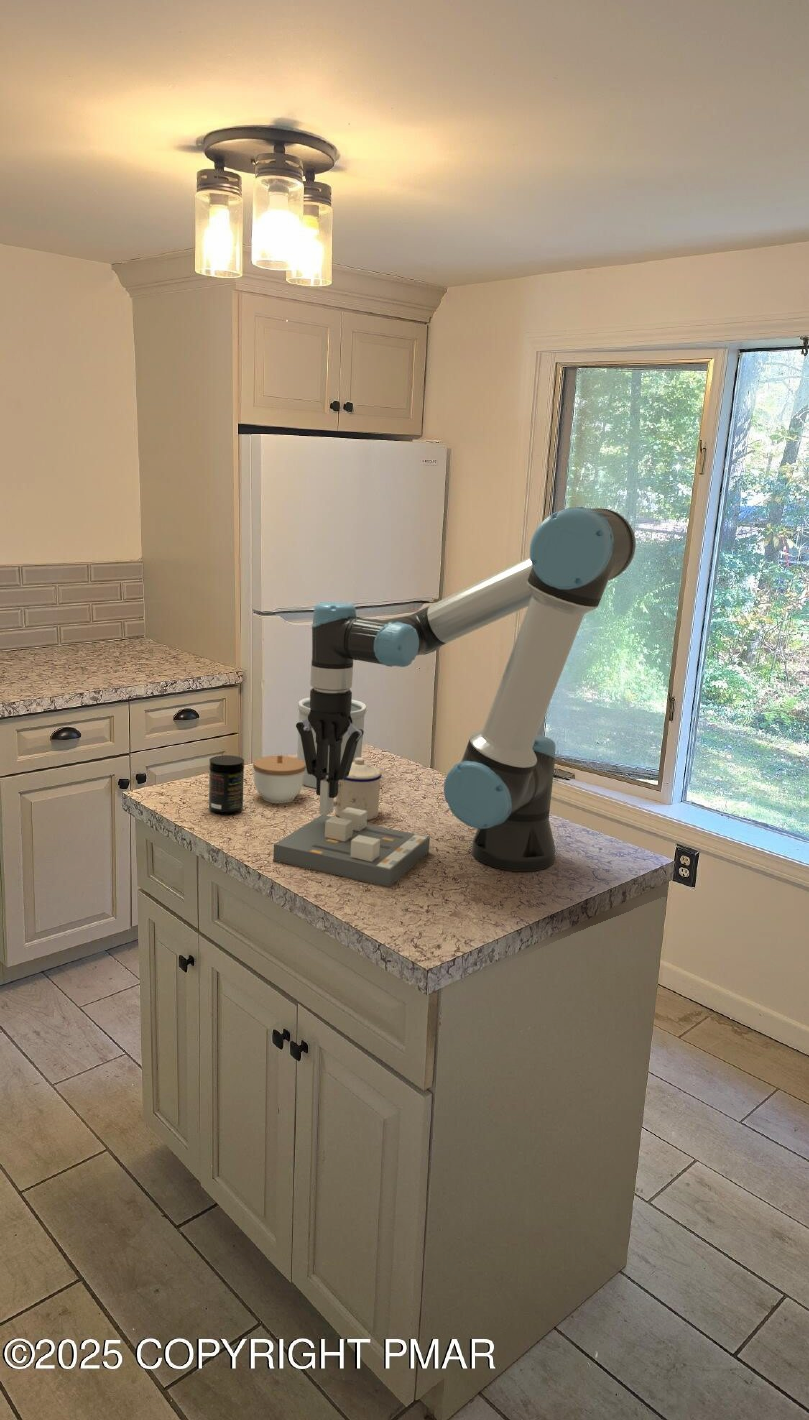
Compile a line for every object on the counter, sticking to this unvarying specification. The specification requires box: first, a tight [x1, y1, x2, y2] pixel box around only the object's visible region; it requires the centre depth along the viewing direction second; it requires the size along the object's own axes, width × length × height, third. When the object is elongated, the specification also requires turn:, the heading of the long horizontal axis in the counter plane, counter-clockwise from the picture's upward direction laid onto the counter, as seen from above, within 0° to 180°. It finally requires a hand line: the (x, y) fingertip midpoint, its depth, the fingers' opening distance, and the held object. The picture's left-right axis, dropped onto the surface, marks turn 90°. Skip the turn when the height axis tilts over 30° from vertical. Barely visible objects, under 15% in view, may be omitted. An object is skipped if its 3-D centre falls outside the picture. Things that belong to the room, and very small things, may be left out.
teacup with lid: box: [333, 756, 382, 821], centre depth 193 cm, size 12×9×12 cm
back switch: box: [339, 807, 368, 831], centre depth 179 cm, size 4×3×3 cm
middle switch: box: [325, 816, 353, 841], centre depth 174 cm, size 4×3×3 cm
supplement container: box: [208, 754, 245, 816], centre depth 192 cm, size 7×7×10 cm
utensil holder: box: [296, 697, 367, 789], centre depth 214 cm, size 15×15×18 cm
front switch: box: [350, 835, 380, 862], centre depth 165 cm, size 4×3×3 cm
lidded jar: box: [252, 754, 306, 804], centre depth 201 cm, size 11×11×9 cm
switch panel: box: [272, 815, 431, 888], centre depth 173 cm, size 22×18×3 cm
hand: (326, 812), depth 181 cm, fingers closed
